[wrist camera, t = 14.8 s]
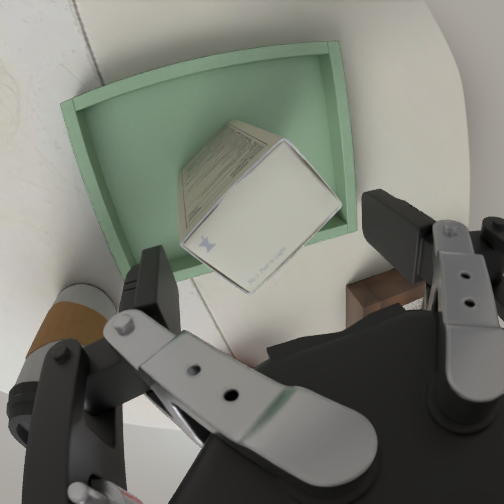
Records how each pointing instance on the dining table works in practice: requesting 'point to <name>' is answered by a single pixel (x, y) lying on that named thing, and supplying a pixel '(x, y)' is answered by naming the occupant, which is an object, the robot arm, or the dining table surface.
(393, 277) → the wooden square frame
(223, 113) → the tray
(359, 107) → the dining table surface
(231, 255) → the cosmetic box
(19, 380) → the coffee cup
